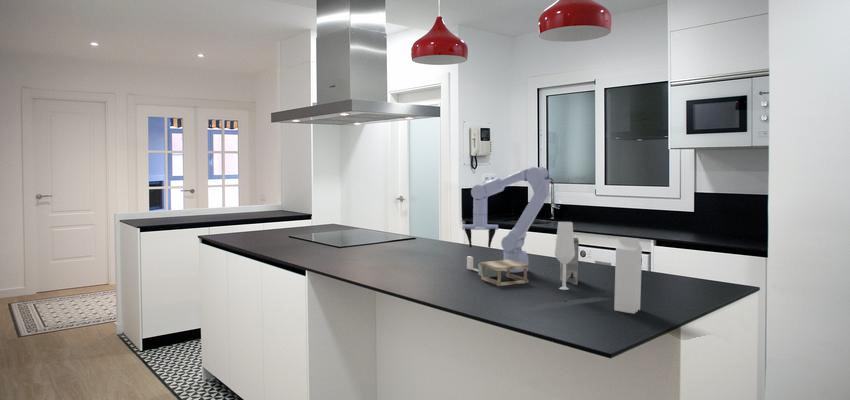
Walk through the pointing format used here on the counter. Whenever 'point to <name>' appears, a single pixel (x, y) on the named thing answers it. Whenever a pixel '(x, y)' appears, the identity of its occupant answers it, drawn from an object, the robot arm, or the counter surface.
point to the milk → (628, 275)
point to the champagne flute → (564, 247)
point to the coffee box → (571, 266)
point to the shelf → (498, 282)
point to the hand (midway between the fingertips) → (479, 247)
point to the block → (480, 268)
